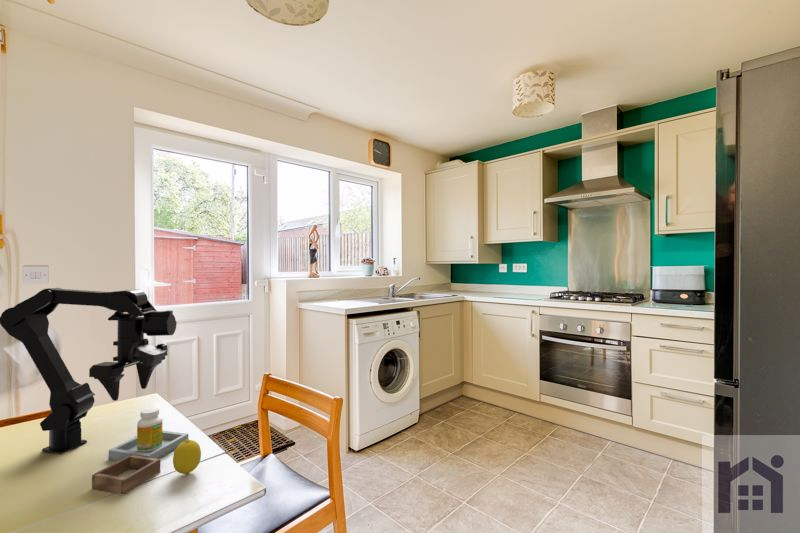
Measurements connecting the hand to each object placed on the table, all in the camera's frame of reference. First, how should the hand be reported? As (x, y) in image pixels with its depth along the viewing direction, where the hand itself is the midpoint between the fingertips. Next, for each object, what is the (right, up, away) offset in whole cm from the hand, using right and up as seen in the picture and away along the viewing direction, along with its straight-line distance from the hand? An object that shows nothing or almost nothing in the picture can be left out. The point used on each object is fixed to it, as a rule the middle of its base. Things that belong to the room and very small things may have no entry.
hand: (130, 394), depth 97 cm
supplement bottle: (+8, -13, -4) cm, 15 cm away
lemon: (+24, -13, -15) cm, 31 cm away
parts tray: (+8, -13, -4) cm, 16 cm away
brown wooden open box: (+12, -13, -17) cm, 25 cm away
